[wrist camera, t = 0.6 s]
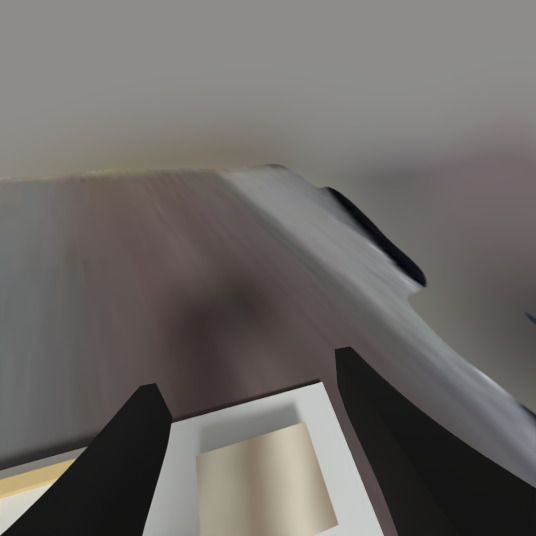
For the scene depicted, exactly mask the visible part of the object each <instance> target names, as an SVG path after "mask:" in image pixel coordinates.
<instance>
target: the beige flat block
mask: <svg viewBox="0 0 536 536" xmlns="http://www.w3.org/2000/svg"><path fill="white" fill-rule="evenodd" d="M196 471H197V487H198V502H199V517H200V532H201V536H314V535H317V534H319V533H321V532H323V531H326V530H328V529H330V528H332V527H335V526H337V525H339V524H338V521H337V518H336V515H335V512H334V509H333V506H332V503H331V500H330V496H329V493H328V490H327V487H326V484H325V481H324V478H323V475H322V472H321V469H320V466H319V463H318V459H317V456H316V453H315V450H314V447H313V444H312V441H311V438H310V435H309V432H308V429H307V426H306V422H303V423H299V424H296V425H293V426H290V427H287V428H283V429H280V430H277V431H274V432H271V433H267V434H264V435H261V436H258V437H255V438H252V439H248V440H245V441H242V442H239V443H236V444H232V445H229V446H226V447H223V448H220V449H216V450H213V451H210V452H207V453H204V454H200V455H197V456H196Z"/></svg>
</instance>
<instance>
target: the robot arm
mask: <svg viewBox="0 0 536 536" xmlns="http://www.w3.org/2000/svg"><path fill="white" fill-rule="evenodd" d="M335 358H336V370H337V383H338V389H339V392H340V394H341V397H342V400H343V403H344V406H345V409H346V412H347V414H348V417H349V419H350V421H351V423H352V426H353V428H354V430H355V432H356V434H357V437H358V439H359V441H360V443H361V445H362V448H363V450H364V452H365V454H366V456H367V459H368V461H369V463H370V465H371V467H372V469H373V472H374V474H375V476H376V478H377V481H378V483H379V485H380V488H381V490H382V493H383V495H384V498H385V500H386V503H387V506H388V508H389V511H390V514H391V516H392V519H393V522H394V524H395V527H396V530H397V533H398V535H399V536H536V488H535V487H533V486H531V485H530V484H528V483H526V482H525V481H523V480H522V479H520V478H519V477H517V476H515V475H514V474H512V473H511V472H509V471H508V470H506V469H504V468H503V467H501V466H500V465H498V464H496V463H495V462H493V461H492V460H490V459H489V458H487V457H485V456H484V455H482V454H481V453H479V452H478V451H476V450H475V449H474V448H472V447H471V446H469V445H468V444H466V443H465V442H463V441H462V440H460V439H459V438H458V437H456V436H455V435H453V434H452V433H451V432H449V431H448V430H446V429H445V428H444V427H442V426H441V425H440V424H438V423H437V422H436V421H434V420H433V419H432V418H430V417H429V416H428V415H426V414H425V413H424V412H423V411H421V410H420V409H419V408H418V407H416V406H415V405H414V404H413V403H412V402H410V401H409V400H408V399H407V398H405V397H404V396H403V395H402V394H401V393H400V392H398V391H397V390H396V389H395V388H394V387H393V386H392V385H390V384H389V383H388V382H387V381H386V380H385V379H384V378H383V377H382V376H380V375H379V374H378V373H377V372H376V371H375V370H374V369H373V368H372V367H371V366H370V365H369V364H368V363H367V362H366V361H365V360H364V359H363V358H362V357H361V356H360V355H359V354H358V353H357V352H356V351H355V350H354V349H353V348H352V347H345V348H339V349H335ZM171 424H172V416H171V413H170V411H169V409H168V407H167V405H166V403H165V401H164V399H163V397H162V395H161V393H160V391H159V389H158V387H157V385H156V383H154V384H148V385H143V386H140V387H139V388H138V389H137V390H136V392H135V393H134V394H133V395H132V396H131V397H130V398H129V400H128V401H127V402H126V403H125V404H124V405H123V407H122V408H121V409H120V410H119V411H118V412H117V414H116V415H115V416H114V417H113V418H112V419H111V421H110V422H109V423H108V424H107V425H106V426H105V427H104V429H103V430H102V431H101V432H100V433H99V434H98V436H97V437H96V438H95V439H94V440H93V441H92V442H91V444H90V445H89V446H88V447H87V448H86V449H85V450H84V451H83V452H82V453H81V454H80V456H79V457H78V458H77V459H76V460H75V461H74V462H73V463H72V464H71V465H70V466H69V467H68V469H67V470H66V471H65V472H64V473H63V474H62V475H61V476H60V477H59V478H58V479H57V480H56V481H55V482H54V483H53V485H52V486H51V487H50V488H49V489H48V490H47V491H46V492H45V493H44V494H43V495H42V496H41V497H40V498H39V499H38V500H37V501H36V502H35V503H34V504H33V505H32V506H31V507H30V508H29V509H27V510H26V511H25V512H24V513H23V514H22V515H21V516H20V517H19V518H18V519H17V520H16V521H15V522H14V523H13V524H12V525H11V526H10V527H9V528H8V529H7V530H6V531H4V532H3V533H2V534H1V535H0V536H142V535H143V531H144V527H145V524H146V520H147V517H148V513H149V510H150V506H151V503H152V499H153V496H154V493H155V489H156V486H157V482H158V479H159V475H160V472H161V468H162V465H163V461H164V458H165V454H166V450H167V447H168V441H169V436H170V430H171Z"/></svg>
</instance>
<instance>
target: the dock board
mask: <svg viewBox="0 0 536 536" xmlns="http://www.w3.org/2000/svg"><path fill="white" fill-rule="evenodd" d="M303 422H306V426H307V429H308V432H309V435H310V438H311V441H312V444H313V447H314V450H315V453H316V456H317V459H318V463H319V466H320V469H321V472H322V475H323V478H324V481H325V484H326V487H327V490H328V493H329V496H330V500H331V503H332V506H333V509H334V512H335V515H336V518H337V521H338V524H339V525H337V526H335V527H332V528H330V529H328V530H326V531H323V532H321V533H319V534H317V535H314V536H384V535H383V533H382V530H381V528H380V525H379V523H378V520H377V518H376V515H375V513H374V510H373V508H372V505H371V503H370V500H369V498H368V495H367V493H366V490H365V488H364V485H363V483H362V480H361V478H360V475H359V473H358V470H357V468H356V465H355V463H354V460H353V458H352V455H351V453H350V450H349V448H348V445H347V443H346V440H345V438H344V435H343V433H342V430H341V428H340V425H339V423H338V420H337V418H336V415H335V413H334V410H333V408H332V405H331V403H330V400H329V398H328V395H327V393H326V390H325V388H324V385H323V383H322V382H320V383H317V384H313V385H309V386H306V387H302V388H299V389H295V390H291V391H288V392H284V393H280V394H277V395H273V396H270V397H266V398H262V399H259V400H255V401H251V402H248V403H244V404H240V405H237V406H233V407H230V408H226V409H222V410H219V411H215V412H211V413H208V414H204V415H201V416H197V417H193V418H190V419H186V420H182V421H179V422H175V423H172V424H171V430H170V436H169V441H168V447H167V450H166V454H165V458H164V461H163V465H162V468H161V472H160V475H159V479H158V482H157V486H156V489H155V493H154V496H153V499H152V503H151V506H150V510H149V513H148V517H147V520H146V524H145V527H144V531H143V535H142V536H201V532H200V517H199V502H198V487H197V471H196V456H197V455H200V454H204V453H207V452H210V451H213V450H216V449H220V448H223V447H226V446H229V445H232V444H236V443H239V442H242V441H245V440H248V439H252V438H255V437H258V436H261V435H264V434H267V433H271V432H274V431H277V430H280V429H283V428H287V427H290V426H293V425H296V424H299V423H303ZM86 448H87V447H84V448H81V449H77V450H73V451H70V452H66V453H62V454H59V455H55V456H52V457H48V458H44V459H41V460H37V461H33V462H30V463H26V464H23V465H19V466H15V467H12V468H8V469H4V470H1V471H0V535H1V534H2V533H3V532H4V531H6V530H7V529H8V528H9V527H10V526H11V525H12V524H13V523H14V522H15V521H16V520H17V519H18V518H19V517H20V516H21V515H22V514H23V513H24V512H25V511H26V510H27V509H29V508H30V507H31V506H32V505H33V504H34V503H35V502H36V501H37V500H38V499H39V498H40V497H41V496H42V495H43V494H44V493H45V492H46V491H47V490H48V489H49V488H50V487H51V486H52V485H53V483H54V482H55V481H56V480H57V479H58V478H59V477H60V476H61V475H62V474H63V473H64V472H65V471H66V470H67V469H68V467H69V466H70V465H71V464H72V463H73V462H74V461H75V460H76V459H77V458H78V457H79V456H80V454H81V453H82V452H83V451H84V450H85V449H86Z"/></svg>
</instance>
